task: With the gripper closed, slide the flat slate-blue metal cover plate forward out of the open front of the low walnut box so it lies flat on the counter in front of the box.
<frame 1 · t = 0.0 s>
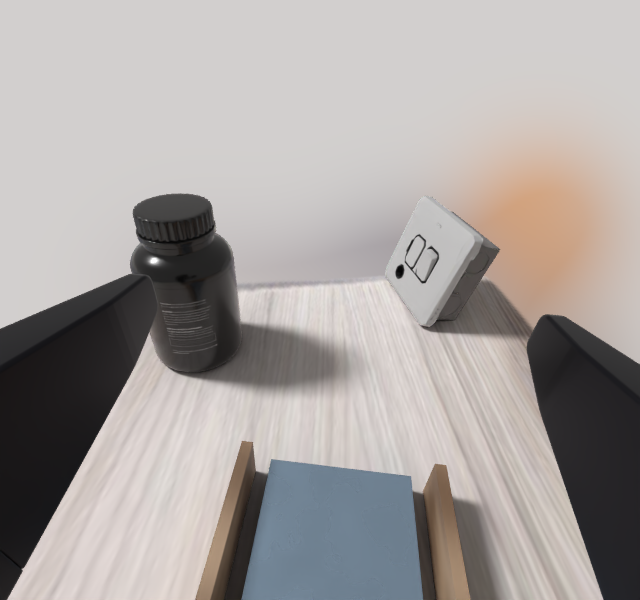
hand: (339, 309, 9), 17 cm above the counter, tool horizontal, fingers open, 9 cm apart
electrical switch: (423, 298, 38), on the counter
supplement bottle: (200, 346, 31), on the counter
cover plate: (333, 561, 19), on the counter
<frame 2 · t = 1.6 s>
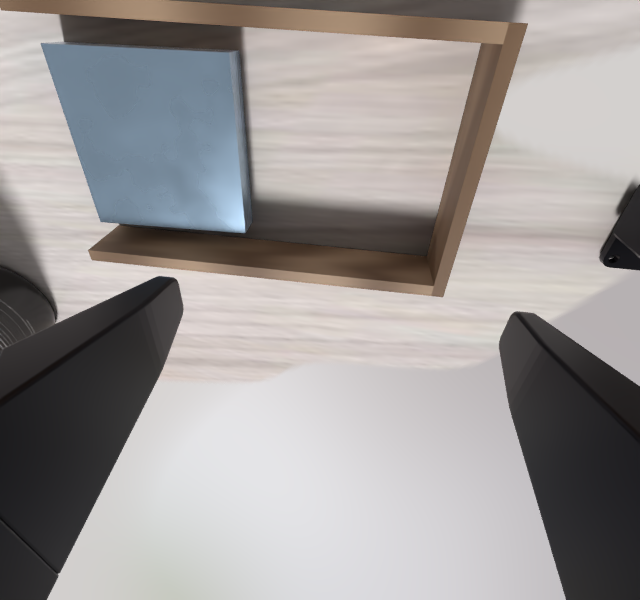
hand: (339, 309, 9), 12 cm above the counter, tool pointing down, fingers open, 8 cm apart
supplement bottle: (13, 299, 27), on the counter
cover plate: (173, 139, 19), on the counter
open box: (266, 150, 19), on the counter
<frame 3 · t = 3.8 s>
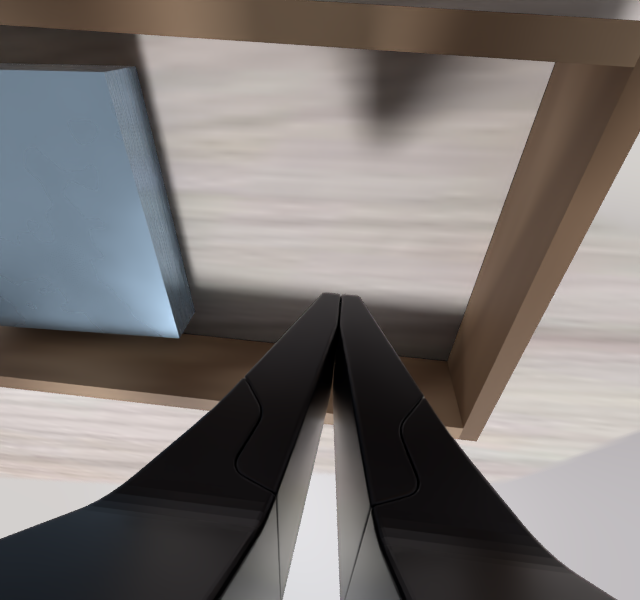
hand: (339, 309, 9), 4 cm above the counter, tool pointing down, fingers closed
cover plate: (62, 201, 13), on the counter
open box: (202, 221, 12), on the counter
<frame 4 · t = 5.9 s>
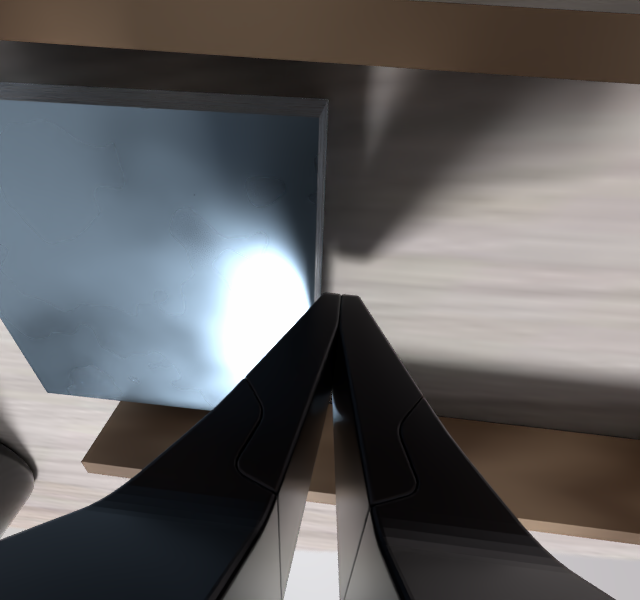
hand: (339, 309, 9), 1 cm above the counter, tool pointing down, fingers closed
cover plate: (176, 254, 10), on the counter, touching gripper
open box: (426, 289, 10), on the counter
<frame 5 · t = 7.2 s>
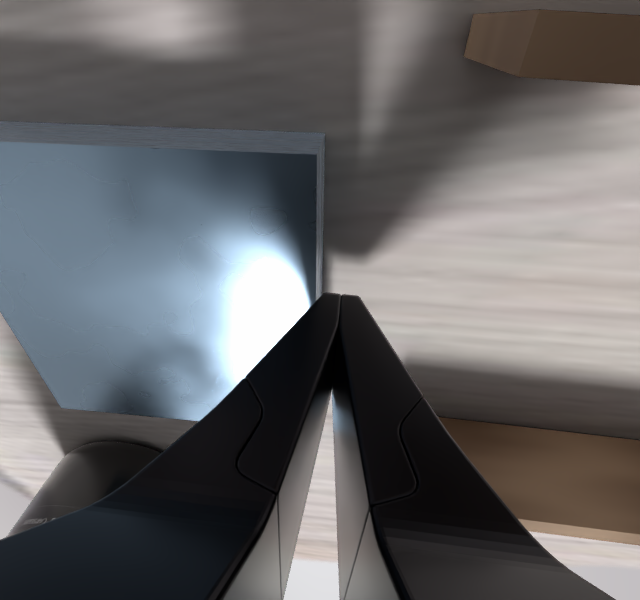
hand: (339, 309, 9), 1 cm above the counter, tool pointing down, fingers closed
supplement bottle: (143, 474, 18), on the counter
cover plate: (183, 274, 11), on the counter
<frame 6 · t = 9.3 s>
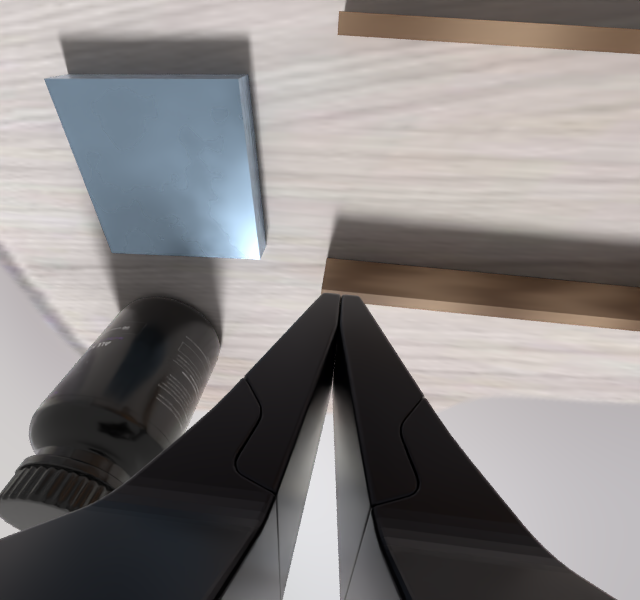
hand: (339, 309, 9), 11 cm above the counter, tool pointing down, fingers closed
supplement bottle: (173, 332, 25), on the counter
cover plate: (182, 166, 19), on the counter
open box: (531, 180, 17), on the counter
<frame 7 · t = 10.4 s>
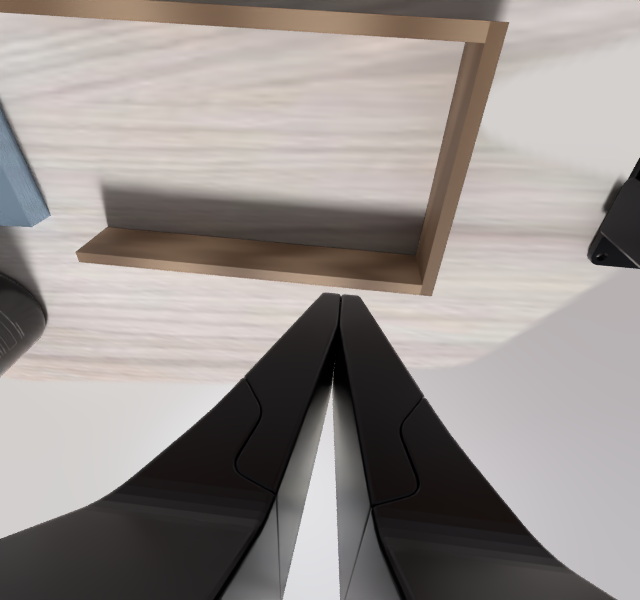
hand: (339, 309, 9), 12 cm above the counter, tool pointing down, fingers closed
supplement bottle: (2, 302, 27), on the counter
open box: (253, 150, 19), on the counter
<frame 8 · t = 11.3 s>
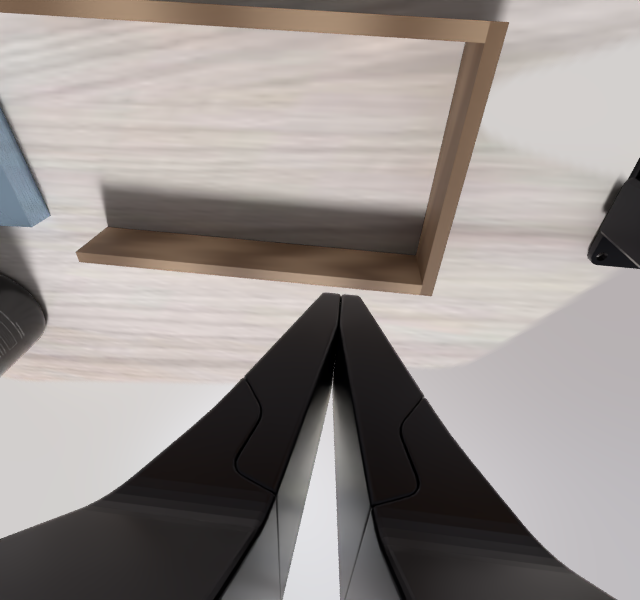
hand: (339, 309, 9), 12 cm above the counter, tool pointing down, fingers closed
supplement bottle: (2, 302, 27), on the counter
open box: (253, 150, 19), on the counter
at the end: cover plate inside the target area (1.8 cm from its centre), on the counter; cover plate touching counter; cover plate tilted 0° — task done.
